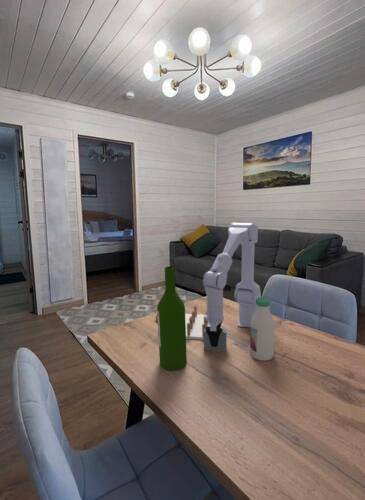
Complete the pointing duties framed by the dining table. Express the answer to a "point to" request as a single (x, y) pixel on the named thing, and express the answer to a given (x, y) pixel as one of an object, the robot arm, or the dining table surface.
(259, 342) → the milk bottle
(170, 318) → the wine bottle
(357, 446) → the dining table surface
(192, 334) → the peg rack
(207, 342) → the slate grey rectangular block
